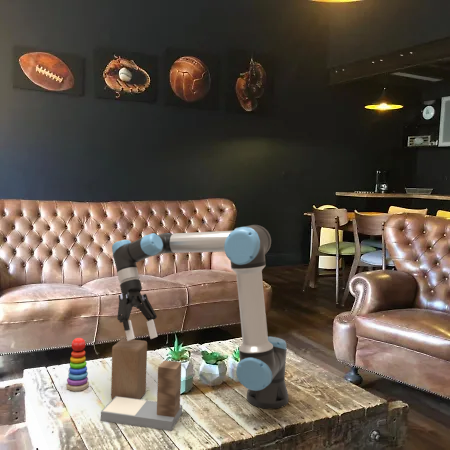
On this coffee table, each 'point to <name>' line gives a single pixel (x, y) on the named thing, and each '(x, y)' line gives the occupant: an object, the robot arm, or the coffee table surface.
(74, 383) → the stacking toy
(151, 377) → the coffee table surface
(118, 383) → the block
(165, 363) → the walnut pillar
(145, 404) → the foundation
